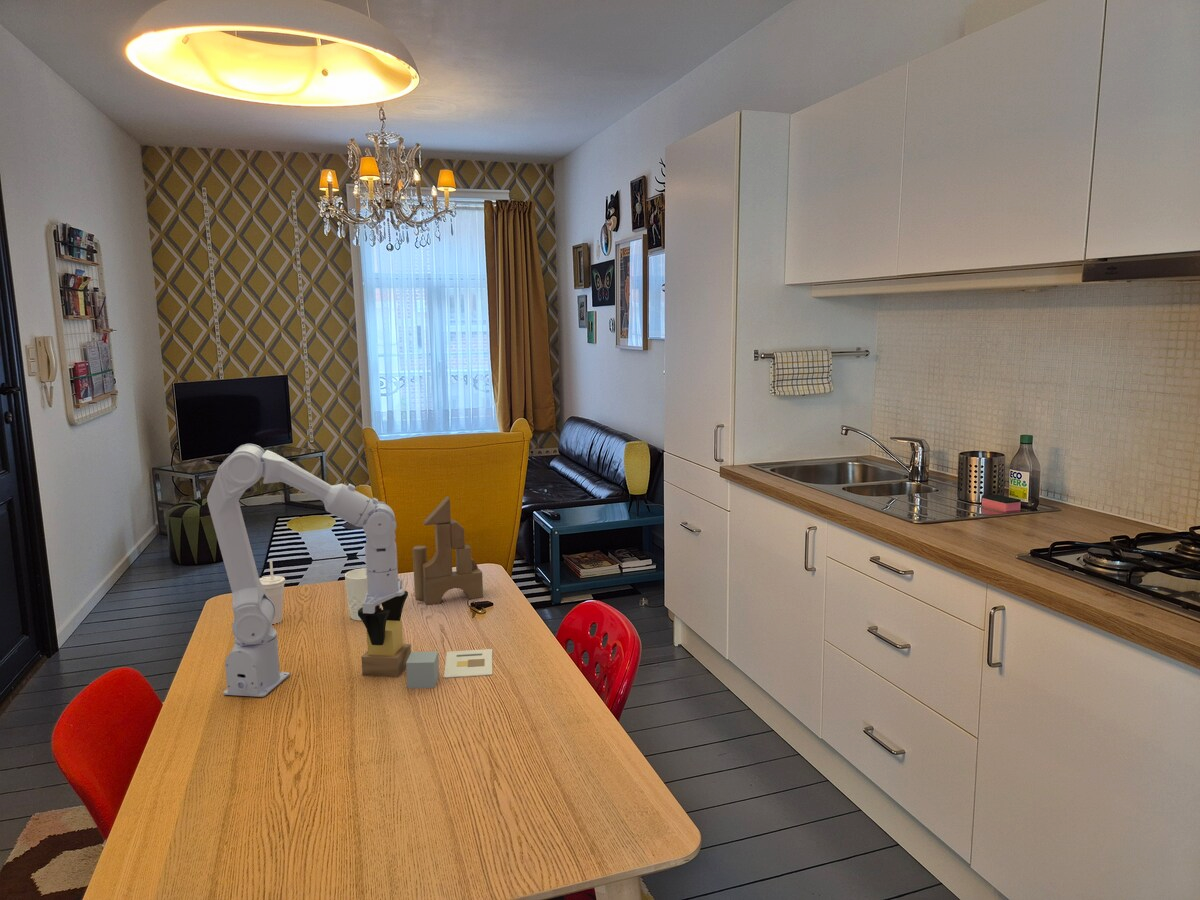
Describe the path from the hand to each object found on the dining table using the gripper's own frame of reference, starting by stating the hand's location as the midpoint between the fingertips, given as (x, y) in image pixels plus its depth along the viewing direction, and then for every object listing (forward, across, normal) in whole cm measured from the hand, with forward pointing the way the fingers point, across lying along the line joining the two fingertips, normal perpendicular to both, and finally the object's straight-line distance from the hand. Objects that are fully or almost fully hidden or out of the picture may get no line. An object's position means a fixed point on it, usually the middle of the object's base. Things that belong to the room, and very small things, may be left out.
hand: (385, 636), depth 157 cm
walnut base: (+7, 0, 0) cm, 7 cm away
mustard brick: (+3, 0, 0) cm, 3 cm away
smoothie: (+7, +21, +35) cm, 41 cm away
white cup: (+7, +27, +16) cm, 32 cm away
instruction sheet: (+6, +4, -15) cm, 17 cm away
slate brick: (+6, -5, -9) cm, 12 cm away
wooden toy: (+7, +41, +1) cm, 42 cm away
